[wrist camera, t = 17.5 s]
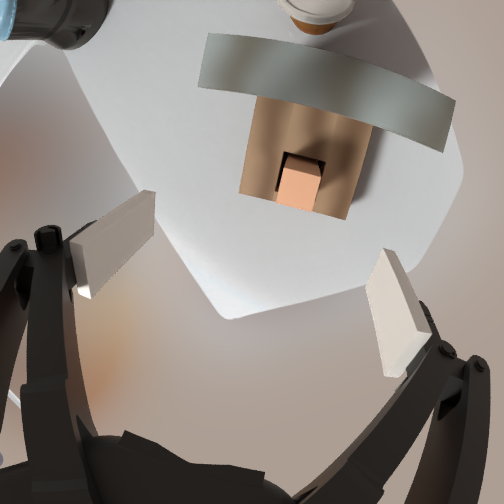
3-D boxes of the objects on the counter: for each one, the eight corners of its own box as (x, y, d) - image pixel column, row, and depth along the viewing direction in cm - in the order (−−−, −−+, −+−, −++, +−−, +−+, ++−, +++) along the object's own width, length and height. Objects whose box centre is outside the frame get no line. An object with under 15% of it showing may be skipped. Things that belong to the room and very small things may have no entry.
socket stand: (242, 183, 46) (177, 264, 23) (263, 75, 37) (208, 33, 15) (344, 209, 45) (375, 314, 22) (374, 103, 36) (455, 100, 13)
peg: (283, 179, 44) (275, 202, 34) (289, 152, 42) (283, 167, 32) (310, 186, 44) (311, 211, 34) (317, 159, 42) (321, 177, 32)
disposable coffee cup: (300, 52, 34) (298, 32, 24) (271, 6, 31) (258, -25, 21) (356, 33, 31) (372, 9, 21) (325, -14, 28) (330, -48, 17)
